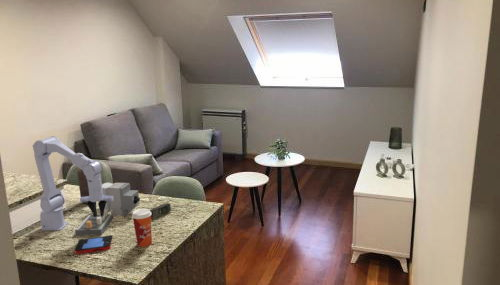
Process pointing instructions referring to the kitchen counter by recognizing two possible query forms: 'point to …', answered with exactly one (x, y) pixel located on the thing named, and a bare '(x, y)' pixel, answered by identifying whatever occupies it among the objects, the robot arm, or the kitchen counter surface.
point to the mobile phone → (160, 210)
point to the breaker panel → (95, 224)
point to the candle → (83, 184)
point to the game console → (93, 244)
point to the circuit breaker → (123, 199)
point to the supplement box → (105, 192)
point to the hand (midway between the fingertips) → (98, 216)
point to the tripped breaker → (89, 224)
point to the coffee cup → (142, 226)
